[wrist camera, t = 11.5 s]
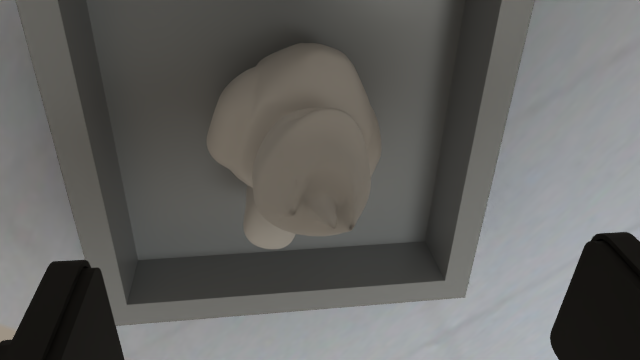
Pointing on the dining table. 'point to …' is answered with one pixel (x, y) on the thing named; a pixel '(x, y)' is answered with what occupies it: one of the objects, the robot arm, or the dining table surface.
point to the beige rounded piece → (298, 143)
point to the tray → (230, 192)
